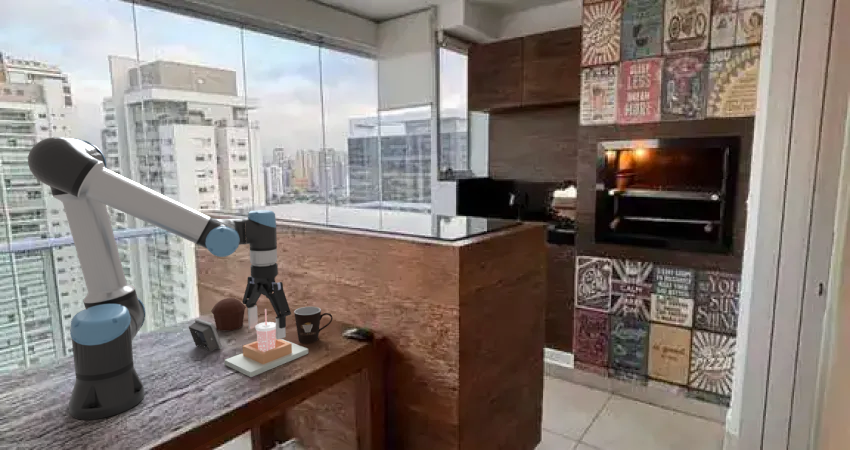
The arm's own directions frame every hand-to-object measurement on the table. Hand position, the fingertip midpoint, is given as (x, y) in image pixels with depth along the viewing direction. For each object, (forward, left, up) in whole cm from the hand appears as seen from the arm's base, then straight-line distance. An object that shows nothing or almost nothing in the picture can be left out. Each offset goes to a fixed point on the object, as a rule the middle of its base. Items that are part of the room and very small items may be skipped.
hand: (266, 332), depth 138 cm
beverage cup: (0, 0, -7) cm, 7 cm away
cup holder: (0, 0, -8) cm, 8 cm away
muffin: (+8, +34, -8) cm, 36 cm away
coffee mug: (+18, +1, -8) cm, 20 cm away
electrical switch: (-7, +22, -8) cm, 25 cm away
